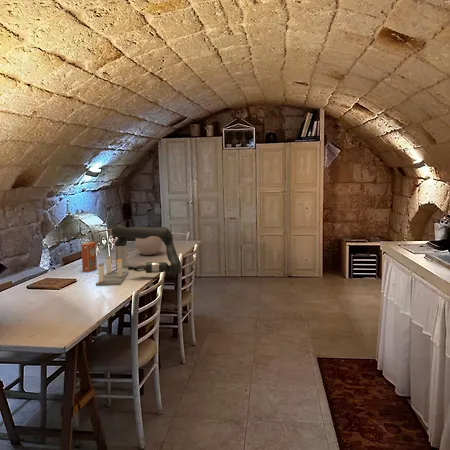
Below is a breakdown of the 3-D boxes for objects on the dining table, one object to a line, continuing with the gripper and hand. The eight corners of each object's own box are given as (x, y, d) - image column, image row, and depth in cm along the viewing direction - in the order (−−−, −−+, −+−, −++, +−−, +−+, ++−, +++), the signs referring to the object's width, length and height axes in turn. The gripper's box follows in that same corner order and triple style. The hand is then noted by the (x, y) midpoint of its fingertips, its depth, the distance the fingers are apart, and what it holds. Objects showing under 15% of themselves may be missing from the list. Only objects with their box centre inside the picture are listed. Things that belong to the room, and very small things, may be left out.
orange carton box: (98, 268, 338) (88, 272, 324) (90, 268, 340) (80, 272, 325) (97, 241, 336) (87, 244, 321) (89, 241, 337) (79, 244, 323)
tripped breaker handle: (117, 277, 299) (116, 260, 298) (118, 275, 304) (118, 259, 303) (121, 277, 299) (120, 260, 298) (122, 275, 305) (121, 259, 303)
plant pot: (163, 256, 386) (162, 223, 383) (136, 257, 381) (134, 224, 378) (161, 251, 409) (160, 220, 406) (135, 253, 404) (134, 221, 401)
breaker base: (95, 285, 284) (94, 265, 282) (106, 273, 319) (105, 255, 317) (120, 285, 285) (119, 264, 283) (128, 273, 320) (127, 255, 318)
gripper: (152, 274, 297) (126, 275, 295) (153, 270, 310) (129, 271, 309) (151, 264, 296) (126, 264, 295) (153, 260, 309) (129, 261, 308)
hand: (128, 268), depth 302 cm, fingers closed
